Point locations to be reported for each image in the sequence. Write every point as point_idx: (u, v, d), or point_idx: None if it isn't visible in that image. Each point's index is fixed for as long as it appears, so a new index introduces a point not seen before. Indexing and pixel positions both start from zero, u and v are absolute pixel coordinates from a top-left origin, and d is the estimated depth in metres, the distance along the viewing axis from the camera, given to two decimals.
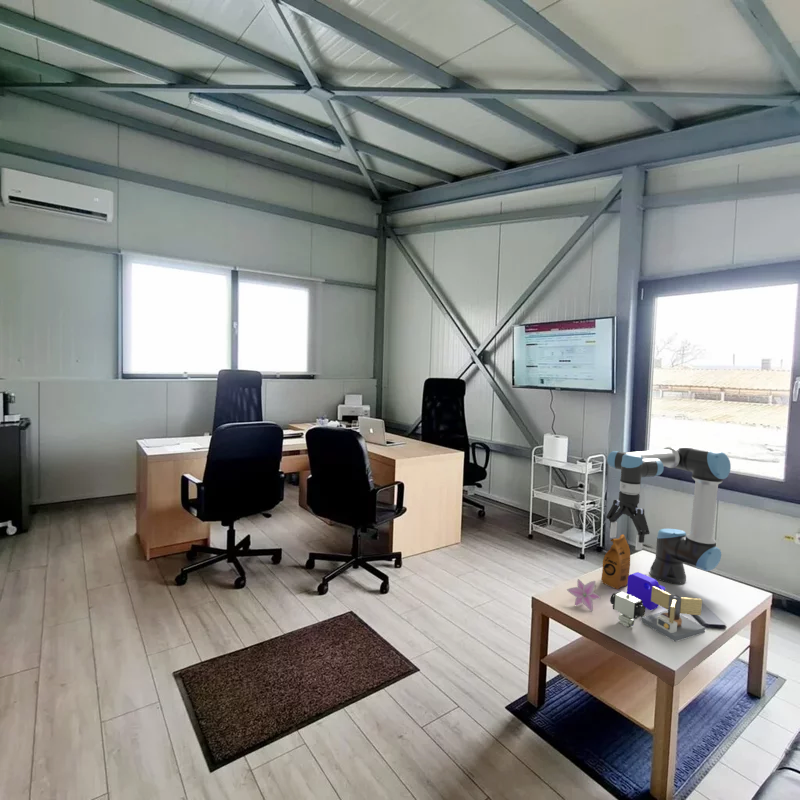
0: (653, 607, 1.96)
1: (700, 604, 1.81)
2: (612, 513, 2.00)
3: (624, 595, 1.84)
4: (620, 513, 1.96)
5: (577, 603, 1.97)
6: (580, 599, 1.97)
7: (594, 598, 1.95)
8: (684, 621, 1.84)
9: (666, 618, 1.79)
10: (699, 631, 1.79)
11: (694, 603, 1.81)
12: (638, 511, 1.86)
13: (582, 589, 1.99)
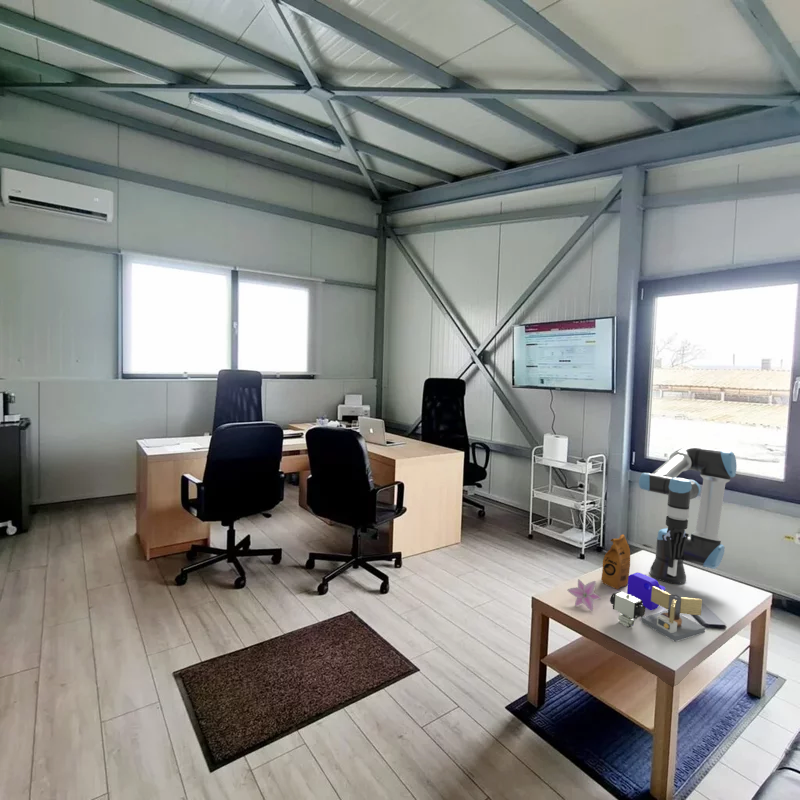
0: (653, 607, 1.96)
1: (700, 604, 1.81)
2: None
3: (624, 595, 1.84)
4: None
5: (577, 603, 1.96)
6: (580, 599, 1.97)
7: (594, 599, 1.95)
8: (684, 621, 1.84)
9: (666, 618, 1.79)
10: (699, 631, 1.79)
11: (694, 603, 1.81)
12: None
13: (583, 590, 1.99)
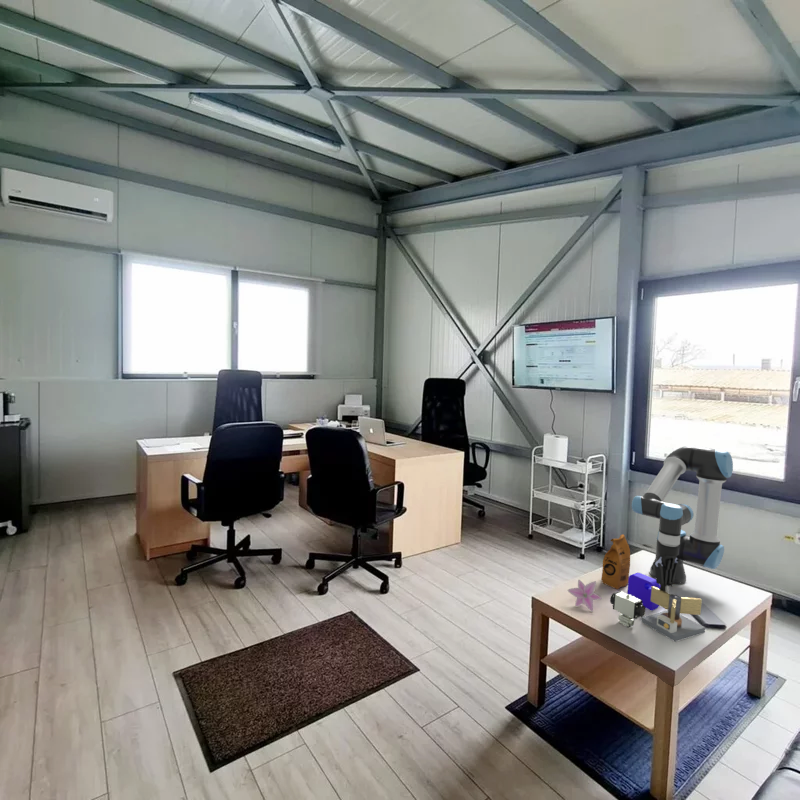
0: (654, 607, 1.96)
1: (700, 604, 1.81)
2: None
3: (624, 595, 1.84)
4: None
5: (578, 603, 1.96)
6: (581, 600, 1.97)
7: (595, 599, 1.95)
8: (684, 621, 1.84)
9: (666, 618, 1.79)
10: (699, 631, 1.79)
11: (694, 602, 1.81)
12: None
13: (583, 590, 1.99)
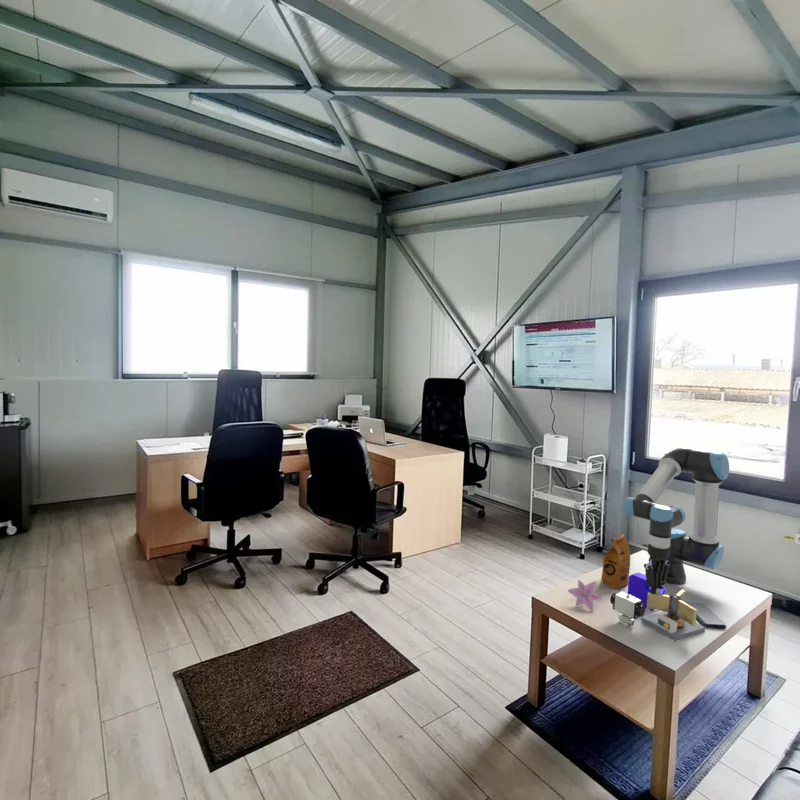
0: None
1: (684, 595, 1.88)
2: None
3: (624, 595, 1.84)
4: None
5: (578, 603, 1.96)
6: (581, 600, 1.97)
7: (595, 599, 1.95)
8: None
9: (666, 618, 1.79)
10: (699, 631, 1.79)
11: (682, 595, 1.86)
12: None
13: (583, 590, 1.99)
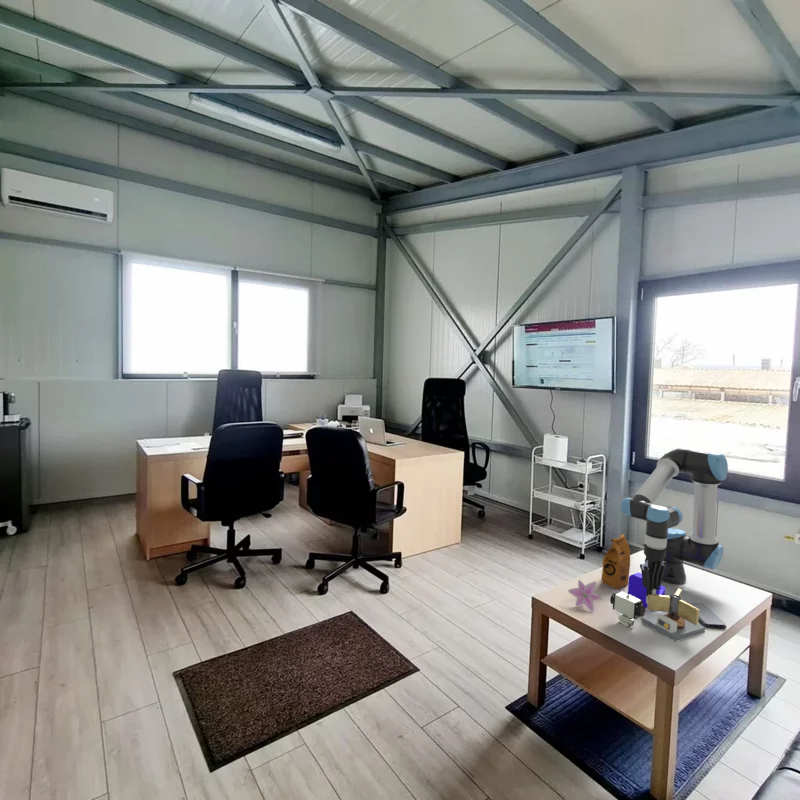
0: None
1: None
2: None
3: (624, 595, 1.84)
4: None
5: (578, 603, 1.96)
6: (581, 600, 1.97)
7: (595, 599, 1.94)
8: None
9: (666, 618, 1.79)
10: (699, 631, 1.79)
11: (680, 594, 1.87)
12: None
13: (583, 590, 1.98)
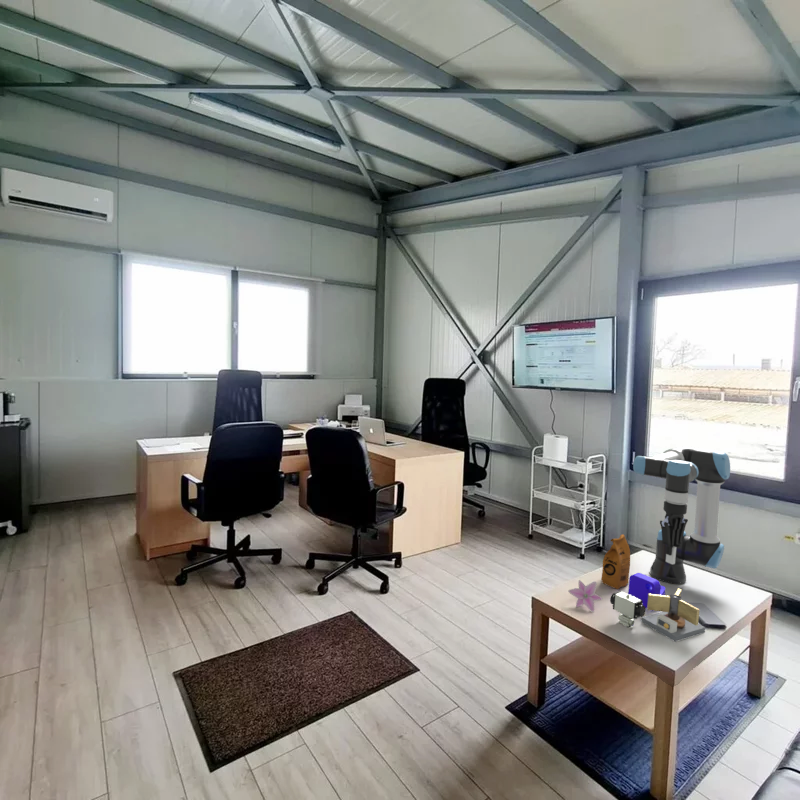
0: None
1: (680, 593, 1.89)
2: None
3: (624, 595, 1.84)
4: None
5: (578, 604, 1.96)
6: (581, 600, 1.96)
7: (595, 600, 1.94)
8: None
9: (666, 618, 1.79)
10: (699, 631, 1.79)
11: (680, 594, 1.87)
12: None
13: (584, 590, 1.98)
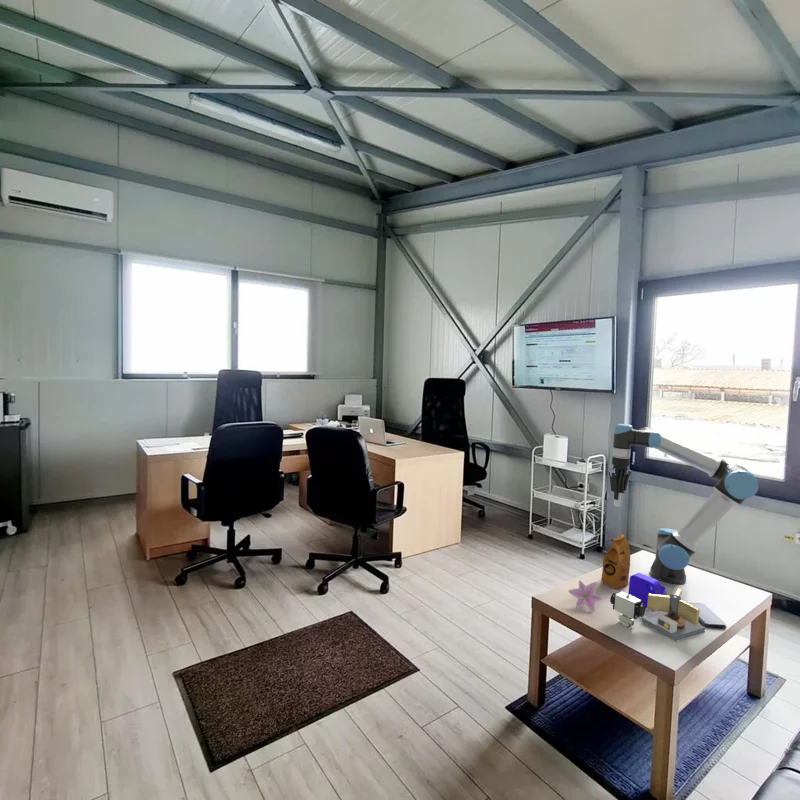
0: None
1: (680, 593, 1.89)
2: None
3: (624, 595, 1.84)
4: None
5: (579, 604, 1.95)
6: (582, 600, 1.96)
7: (596, 600, 1.94)
8: None
9: (666, 618, 1.79)
10: (699, 631, 1.79)
11: (680, 594, 1.87)
12: None
13: (584, 591, 1.98)
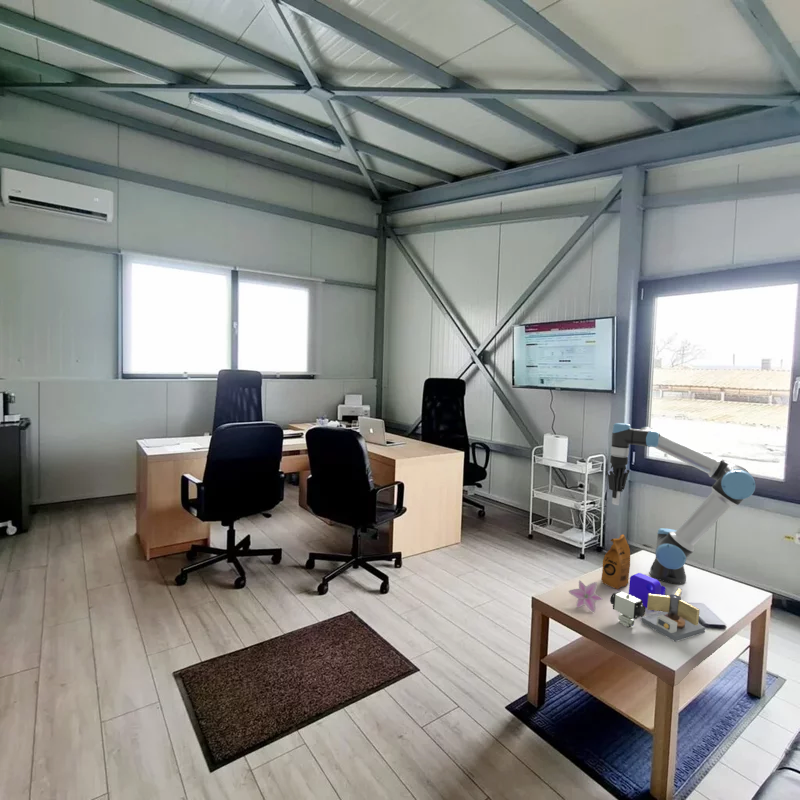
0: None
1: (680, 593, 1.89)
2: None
3: (624, 595, 1.84)
4: None
5: (579, 604, 1.95)
6: (582, 601, 1.96)
7: (596, 600, 1.94)
8: None
9: (666, 618, 1.79)
10: (699, 631, 1.79)
11: (680, 594, 1.87)
12: None
13: (584, 591, 1.98)
